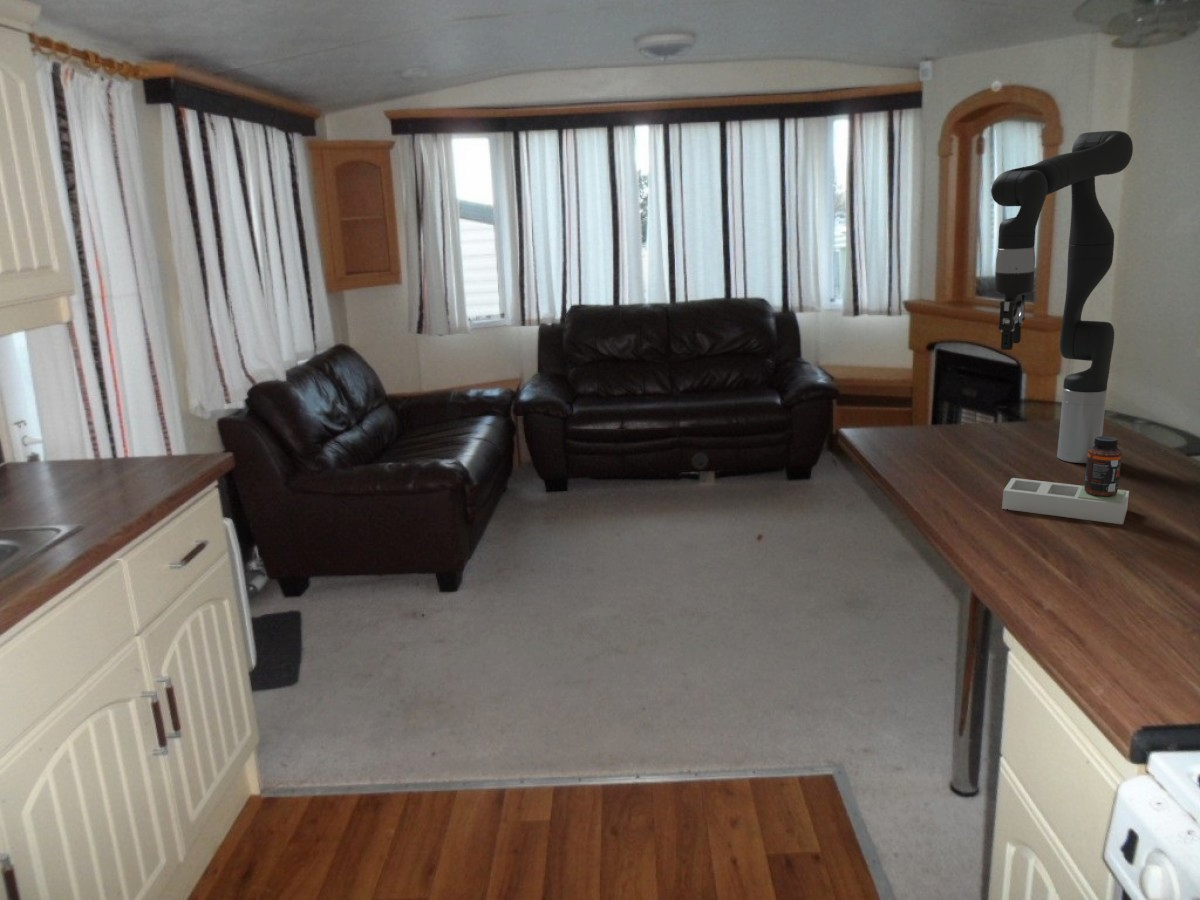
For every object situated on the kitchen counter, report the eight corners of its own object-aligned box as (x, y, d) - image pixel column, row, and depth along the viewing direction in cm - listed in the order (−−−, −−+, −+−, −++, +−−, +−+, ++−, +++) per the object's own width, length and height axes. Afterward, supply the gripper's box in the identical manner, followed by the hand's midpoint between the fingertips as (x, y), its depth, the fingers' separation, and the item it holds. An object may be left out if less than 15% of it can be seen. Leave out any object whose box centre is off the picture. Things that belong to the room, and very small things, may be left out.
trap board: (1010, 495, 203) (1012, 476, 202) (1127, 509, 191) (1129, 489, 190) (1001, 508, 194) (1003, 488, 193) (1123, 524, 183) (1125, 503, 182)
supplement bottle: (1121, 498, 185) (1127, 442, 182) (1088, 497, 186) (1093, 441, 183) (1112, 489, 191) (1118, 434, 188) (1080, 488, 192) (1085, 434, 189)
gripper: (1028, 273, 190) (1023, 352, 194) (1040, 266, 201) (1035, 341, 206) (988, 273, 194) (984, 351, 198) (1002, 266, 205) (999, 340, 210)
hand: (1010, 346), depth 202 cm, fingers open, 8 cm apart
